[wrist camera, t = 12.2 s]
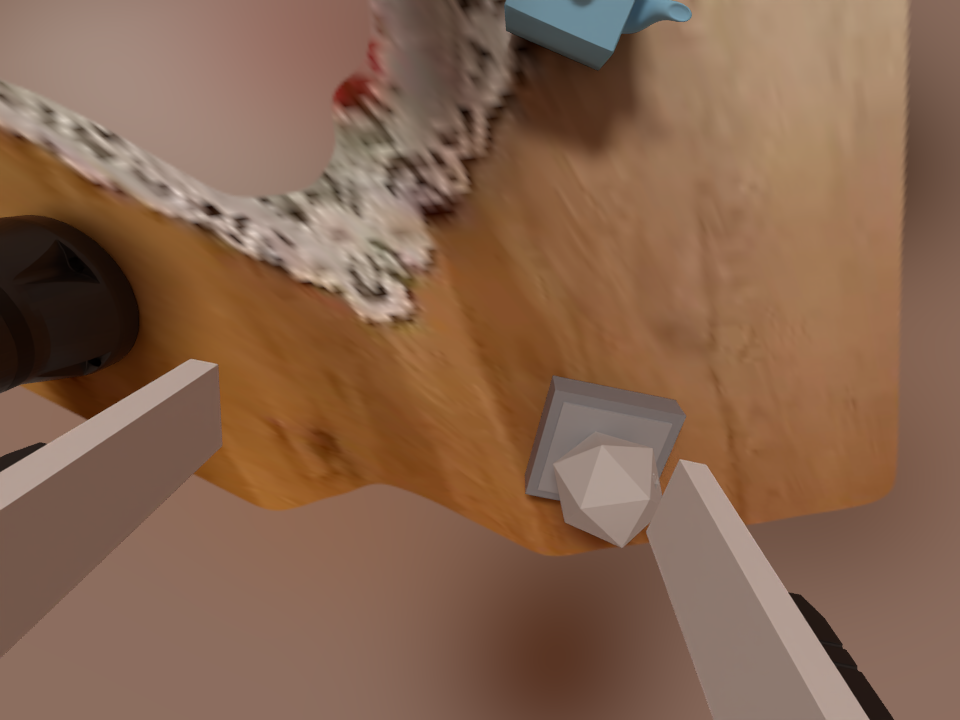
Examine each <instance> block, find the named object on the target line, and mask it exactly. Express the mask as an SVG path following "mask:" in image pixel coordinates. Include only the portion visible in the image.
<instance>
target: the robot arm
mask: <svg viewBox="0 0 960 720" xmlns="http://www.w3.org/2000/svg"><path fill="white" fill-rule="evenodd" d="M138 326H139V317H138V309H137V304H136V300H135V297H134V294H133V292H132V289H131V287H130V285H129V283H128V281H127V279H126V277H125V276H124V274H123V273H122V271H121V270H120V268H119V267H118V265H117V264H116V263H115V262H114V260H113V259H112V258H111V257H110V256H109V255H108V254H107V253H106V251H105V250H103V249H102V248H101V247H100V246H99V245H98V244H97V243H96V242H95V241H93V240H92V239H91V238H89V237H88V236H87V235H85V234H84V233H82V232H80V231H79V230H77V229H75V228H74V227H72V226H70V225H68V224H65V223H63V222H60V221H58V220H55V219H52V218H48V217H43V216H35V215H24V216H14V217H4V218H0V393H2V392H4V391H7V390H9V389H11V388H14V387H16V386H18V385H21V384H27V383H34V382H41V381H49V380H56V379H63V378H70V377H77V376H84V375H88V374H91V373H94V372H97V371H99V370H101V369H104V368H106V367H108V366H110V365H112V364H114V363H116V362H118V361H119V360H121V359H122V358H123V357H124V356H126V354H127V353H128V352H129V351H130V350H131V348H132V347H133V345H134V343H135V340H136V337H137V333H138ZM221 446H222V431H221V411H220V391H219V372H218V364H214V363H209V362H204V361H199V360H195V359H190V360H188V361H186V362H184V363H183V364H181V365H179V366H178V367H176V368H174V369H173V370H171V371H169V372H168V373H166V374H164V375H163V376H161V377H159V378H158V379H156V380H154V381H153V382H151V383H149V384H148V385H146V386H144V387H143V388H141V389H139V390H138V391H136V392H134V393H132V394H131V395H129V396H127V397H126V398H124V399H122V400H121V401H119V402H117V403H116V404H114V405H112V406H111V407H109V408H107V409H106V410H104V411H102V412H101V413H99V414H97V415H96V416H94V417H92V418H91V419H89V420H87V421H86V422H84V423H82V424H80V425H79V426H77V427H76V428H74V429H72V430H70V431H69V432H67V433H65V434H64V435H62V436H60V437H59V438H57V439H55V440H54V441H52V442H50V443H49V444H45V443H37V444H34V445H31V446H28V447H26V448H23V449H20V450H17V451H14V452H12V453H9V454H6V455H4V456H2V457H0V658H1V657H2V656H3V655H4V654H5V653H6V652H7V651H9V650H10V649H11V648H12V647H13V646H14V645H15V644H16V643H17V642H18V641H19V640H20V639H21V638H22V637H23V636H24V635H25V634H26V633H27V632H28V631H29V630H30V629H31V628H33V626H35V624H37V623H38V622H39V621H40V620H41V619H42V618H43V617H44V616H45V615H46V614H47V613H48V612H49V611H50V610H51V609H52V608H53V607H54V606H55V605H56V604H58V603H59V602H60V601H61V600H62V599H63V598H64V597H65V596H66V595H67V594H68V593H69V592H70V591H71V590H72V589H73V588H74V587H75V586H76V585H77V584H78V583H79V582H81V581H82V580H83V578H85V577H86V576H87V575H88V574H89V573H90V572H91V571H92V570H93V569H94V568H95V567H96V566H97V565H98V564H99V563H100V562H101V561H102V560H104V559H105V558H106V556H107V555H109V554H110V553H111V552H112V551H113V550H114V549H115V548H116V547H117V546H118V545H119V544H120V543H121V542H122V541H123V540H124V539H125V538H126V537H128V536H129V535H130V534H131V533H132V532H133V531H134V530H135V529H136V528H137V527H138V526H139V525H140V524H141V523H142V522H143V521H144V520H145V519H146V518H147V517H148V516H149V515H150V514H151V513H152V512H153V511H155V509H157V508H158V507H159V506H160V505H161V504H162V503H163V502H164V501H165V500H166V499H167V498H168V497H169V496H170V495H171V494H172V493H173V492H174V491H176V490H177V489H178V488H179V487H180V486H181V485H182V484H183V483H184V482H185V481H186V480H187V479H188V478H189V477H190V476H191V475H192V474H193V473H194V472H195V471H196V470H197V469H199V468H200V467H201V466H202V465H203V464H204V463H205V462H206V461H207V460H208V459H209V458H210V457H211V456H212V455H213V454H214V453H215V452H216V451H217V450H218V449H219V448H220V447H221ZM646 533H647V536H648V539H649V541H650V544H651V547H652V550H653V552H654V555H655V558H656V560H657V564H658V566H659V569H660V572H661V575H662V578H663V580H664V583H665V586H666V588H667V592H668V594H669V597H670V599H671V603H672V605H673V608H674V611H675V613H676V617H677V619H678V622H679V625H680V628H681V630H682V633H683V636H684V638H685V641H686V644H687V647H688V650H689V653H690V655H691V658H692V661H693V664H694V667H695V669H696V672H697V675H698V678H699V681H700V683H701V686H702V689H703V692H704V694H705V697H706V700H707V703H708V705H709V708H710V711H711V714H712V717H713V719H714V720H894V719H893V717H892V716H891V714H890V713H889V712H888V710H887V709H886V707H885V706H884V704H883V703H882V701H881V700H880V698H879V697H878V696H877V694H876V693H875V691H874V690H873V688H872V687H871V685H870V684H869V682H868V681H867V679H866V678H865V676H864V675H863V674H862V672H859V671H858V670H857V665H856V663H855V662H854V660H853V659H852V657H851V656H850V655H849V653H848V652H847V650H845V649H843V648H842V643H841V641H840V640H839V639H838V637H837V636H836V634H835V633H834V631H833V630H832V629H831V627H830V625H829V624H828V622H827V621H826V620H825V618H824V617H823V616H822V615H821V614H820V613H819V612H818V611H817V610H816V609H815V608H814V607H813V606H812V605H810V604H809V603H808V602H807V601H806V600H805V599H804V598H803V597H802V596H801V595H799V594H794V593H789V592H787V590H786V589H785V587H784V585H783V584H782V582H781V581H780V580H779V578H778V576H777V575H776V573H775V571H774V570H773V568H772V567H771V565H770V564H769V562H768V560H767V559H766V557H765V556H764V554H763V553H762V551H761V550H760V548H759V546H758V545H757V543H756V542H755V540H754V539H753V537H752V536H751V534H750V533H749V531H748V529H747V528H746V526H745V525H744V523H743V521H742V520H741V518H740V517H739V515H738V514H737V512H736V511H735V509H734V507H733V506H732V504H731V503H730V501H729V500H728V498H727V497H726V495H725V493H724V492H723V490H722V489H721V487H720V486H719V484H718V482H717V481H716V479H715V478H714V476H713V475H712V473H711V472H710V470H709V468H708V467H707V465H705V464H700V463H695V462H691V461H686V460H681V459H679V462H678V464H677V466H676V468H675V470H674V472H673V475H672V477H671V479H670V481H669V483H668V485H667V488H666V490H665V492H664V494H663V496H662V498H661V501H660V503H659V505H658V507H657V509H656V511H655V514H654V516H653V518H652V520H651V522H650V525H649V527H648V529H647V531H646Z"/></svg>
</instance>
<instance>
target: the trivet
mask: <svg viewBox="0 0 960 720" xmlns="http://www.w3.org/2000/svg"><path fill="white" fill-rule="evenodd" d="M685 418H686V415H685V414H684V412H683V411H682V409H681V408H680V406H679V405H678V403H677V402H676V400H672V399H667V398H662V397H657V396H652V395H647V394H642V393H637V392H632V391H627V390H622V389H617V388H612V387H607V386H602V385H597V384H592V383H587V382H582V381H577V380H572V379H567V378H562V377H558V376H553V377H552V380H551V384H550V387H549V391H548V394H547V398H546V402H545V405H544V409H543V412H542V416H541V419H540V423H539V427H538V430H537V434H536V437H535V441H534V444H533V448H532V451H531V455H530V459H529V462H528V466H527V469H526V473H525V494H529V495H534V496H539V497H544V498H549V499H554V500H559V501H560V497H559V492H558V487H557V482H556V477H555V472H554V467H553V463H555V462H556V461H557V460H559V459H560V458H561V457H563V456H564V455H565V454H567V453H568V452H569V451H570V450H572V449H573V448H574V447H576V446H577V445H578V444H580V443H581V442H582V441H584V440H585V439H586V438H587V437H589V436H590V435H591V434H593V433H594V432H595V431H596V432H599V433H602V434H606V435H609V436H613V437H616V438H619V439H623V440H626V441H630V442H633V443H637V444H640V445H643V446H647V447H650V448H653V451H654V456H655V462H656V467H657V472H658V477H659V478H660V475H661V473H662V471H663V468H664V466H665V464H666V462H667V459H668V457H669V455H670V452H671V450H672V448H673V445H674V443H675V441H676V439H677V436H678V434H679V432H680V429H681V427H682V425H683V422H684V420H685Z"/></svg>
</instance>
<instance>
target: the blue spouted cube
mask: <svg viewBox="0 0 960 720" xmlns="http://www.w3.org/2000/svg"><path fill="white" fill-rule="evenodd" d="M504 9H505V21H506V31H508V32H510V33H513V34H515V35H517V36H519V37H522V38H524V39H526V40H528V41H531V42H533V43H535V44H538V45H540V46H542V47H544V48H547V49H549V50H551V51H554V52H556V53H558V54H560V55H563V56H565V57H567V58H570V59H572V60H574V61H577V62H579V63H581V64H584V65H586V66H588V67H590V68H593V69H595V70H598V71H599V70H600V68H601V67H602V66H603V65H604V64H605V63H606V61H607V60H608V59H609V58H610V57H611V55H612V54H613V53H614V50H615V48H616V45H617V43H618V41H619V38H620V36H621V34H631V33H636V32H639V31H641V30H643V29H645V28H647V27H648V26H650V25H652V24H653V23H656V22H658V21H662V20H671V21H677V22H685V21H688V20H690V18H691V16H692V13H691V11H690V9H689V8H688V7H687V6H685V5H684V4H682V3H679V2H676V1H671V0H506V2H505V5H504Z"/></svg>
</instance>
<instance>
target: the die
mask: <svg viewBox="0 0 960 720" xmlns="http://www.w3.org/2000/svg"><path fill="white" fill-rule="evenodd" d="M553 467H554V472H555V477H556V482H557V487H558V492H559V497H560V502H561V506H562V511H563V516H564V521H565V523H568V524H570V525H572V526H574V527H576V528H579V529H581V530H583V531H585V532H588V533H590V534H592V535H594V536H596V537H599V538H601V539H603V540H605V541H608V542H610V543H612V544H614V545H617V546H619V547H621V548H623V547H624V546H625V545H626V544H627V543H628V542H629V541H630V540H631V539H633V538H634V537H635V536H636V535H637V534H638V533H639V532H640V531H641V530H642V529H643V528H644V527H646V526H647V525H648V524H649V523H650V522H651V520H652V518H653V516H654V514H655V511H656V509H657V507H658V505H659V503H660V501H661V498H662V492H661V487H660V482H659V477H658V472H657V467H656V462H655V456H654V451H653V448H650V447H647V446H643V445H640V444H637V443H633V442H630V441H626V440H623V439H619V438H616V437H613V436H609V435H606V434H602V433H599V432H596V431H595V432H594V433H593V434H591V435H590V436H589V437H587V438H586V439H585V440H584V441H582V442H581V443H580V444H578V445H577V446H576V447H574V448H573V449H572V450H570V451H569V452H568V453H567V454H565V455H564V456H563V457H561V458H560V459H559V460H557V461H556V462H555V463H553Z"/></svg>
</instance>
